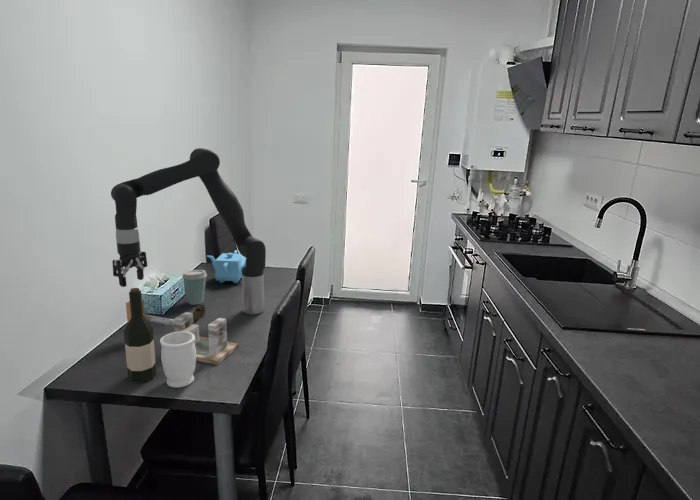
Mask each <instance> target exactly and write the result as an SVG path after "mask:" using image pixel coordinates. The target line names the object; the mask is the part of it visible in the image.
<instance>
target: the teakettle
mask: <svg viewBox="0 0 700 500" xmlns="http://www.w3.org/2000/svg"><path fill="white" fill-rule="evenodd" d="M206 257H207V258H209V259H210V260H211V264H212V267H213V269H214V270H215V271H214V273H215V275H214V276H215V281H218V282H219V283H220V284H223V283H225V282H232V283H233V284H239V282H240V280H242V279H241V278H242V268H243V267H244V266H246V257H244V256H242V255H241V254H240V253H238V249H236V250H234V252H227V253H225V252H224V253H221V254H220V255H219V256H218V257H217V258H216V259H215V257H214V256H213V255H206Z"/></svg>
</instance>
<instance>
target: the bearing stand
mask: <svg viewBox="0 0 700 500" xmlns="http://www.w3.org/2000/svg"><path fill="white" fill-rule="evenodd" d="M173 320H174V326H173V328H174V332H179V331H183V330H185V329H186V328H188V327H189V326H191V325H193V324H194V323H193V312H188V311H185V312H184V313H181V314H180V315H178V316H176V317H174V318H173ZM185 323H186V327H185ZM227 326H228V325H227V318H224V317H223V318H222V317H218V318H216V319H215V320H214V321H212V322H210V323H209V324H207V333H208V336H207V337H205V336H201V335H199V337H200V341H199V342H198V343H196V344H195V348H196V362H197V361H198V362H201V363H206V364H210V365H214V366H215V365H216V366H217V365H219V364H220V363H222V362H223V361H224V360H226V358H227V357H228V356H229V357H230V355H231V354H232V353H234V351H236V350H237V349H238V348H239V347H240V346H239V343H238V342H237V343H236V342H232V341H228V333H227V332H228V330H227V329H228V328H227Z"/></svg>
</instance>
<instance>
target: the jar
mask: <svg viewBox="0 0 700 500" xmlns="http://www.w3.org/2000/svg"><path fill="white" fill-rule="evenodd" d="M194 341H195V335H194V334H193V333H191V332H186V331H179V332H175V331H173V332H170V333H169V332H168V333H167V334H165V335H163V336H162V337H160V340H159V343H160V346H161V351H160V352H161V353H160V358H161V365H162V369H163V372H164V374H165V378H166V384H167V386H169V387H171V388H184V387H187V386H188V385H190V384H191V383H193V382H194V380H195V376H194V372H195V371H196V370H195V369H196V363H197V361H196V348H195V344H194Z"/></svg>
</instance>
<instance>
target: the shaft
mask: <svg viewBox="0 0 700 500" xmlns="http://www.w3.org/2000/svg"><path fill="white" fill-rule="evenodd" d="M125 308H126V309H125V310H126V319H127V321H126V322H127V324H128V323H129V321H130V319H131V310H130V300H128V301H126V302H125ZM142 308H143V316H144V318H145V319H146V320H147V321H148V322H149V323H156V324H161V325H167V326H172V327H174V318H173V319H172V318H166V317H161V316H155V315H150V314H146V313H145V303H144V301H143V300H142ZM185 327H186V323H185Z"/></svg>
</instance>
